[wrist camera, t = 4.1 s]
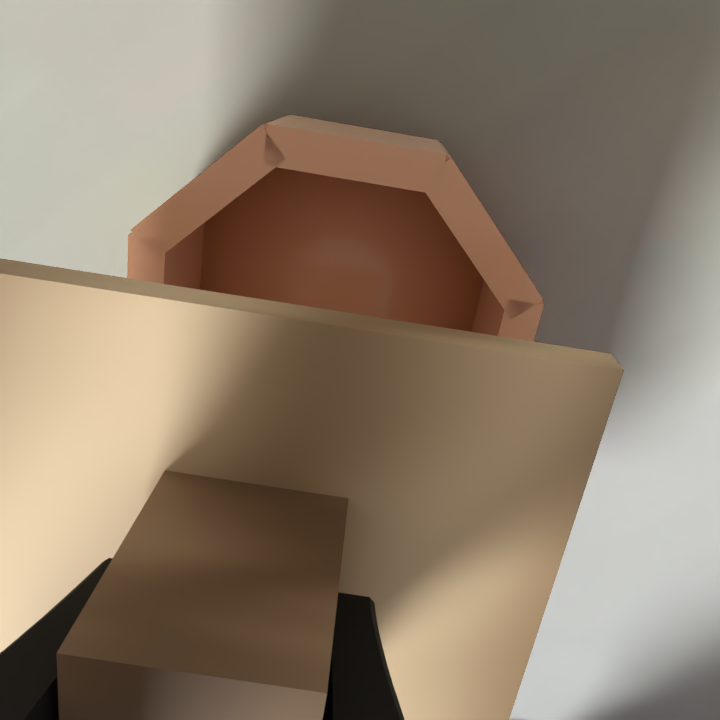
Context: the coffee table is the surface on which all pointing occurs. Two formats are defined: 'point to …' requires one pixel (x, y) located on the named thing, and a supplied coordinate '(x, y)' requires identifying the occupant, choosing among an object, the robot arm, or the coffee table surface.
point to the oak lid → (279, 495)
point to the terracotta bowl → (341, 231)
